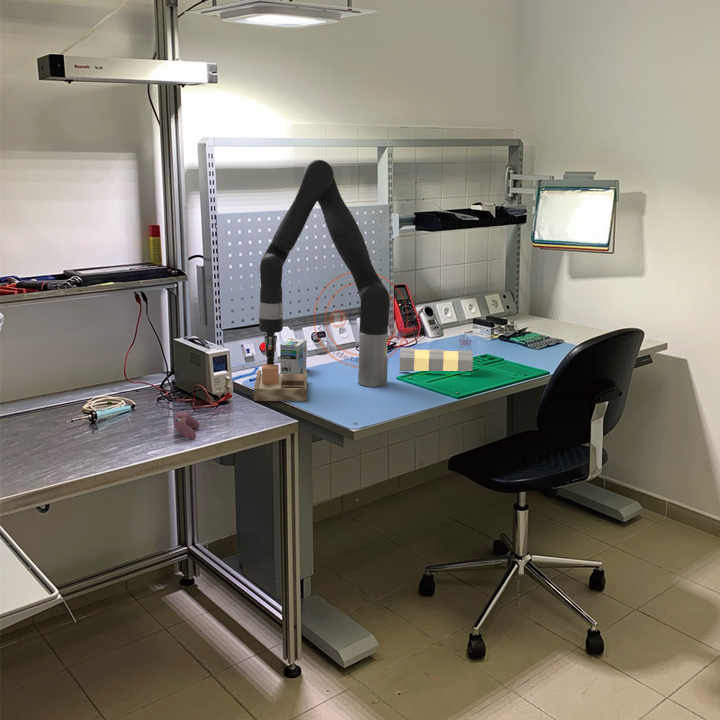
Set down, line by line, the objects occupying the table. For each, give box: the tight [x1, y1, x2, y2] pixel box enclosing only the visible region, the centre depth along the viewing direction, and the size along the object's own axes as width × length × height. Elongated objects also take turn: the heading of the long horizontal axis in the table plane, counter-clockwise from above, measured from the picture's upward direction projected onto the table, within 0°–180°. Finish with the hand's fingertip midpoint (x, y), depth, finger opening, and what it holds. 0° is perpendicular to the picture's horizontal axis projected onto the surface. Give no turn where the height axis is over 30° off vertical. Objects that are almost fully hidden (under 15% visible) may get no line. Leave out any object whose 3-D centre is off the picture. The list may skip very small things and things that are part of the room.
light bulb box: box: [279, 338, 308, 374], centre depth 277 cm, size 11×7×11 cm, turn 168°
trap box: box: [253, 369, 308, 402], centre depth 255 cm, size 16×22×4 cm
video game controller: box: [173, 410, 200, 440], centre depth 213 cm, size 10×5×7 cm, turn 5°
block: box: [261, 364, 280, 384], centre depth 255 cm, size 5×5×5 cm
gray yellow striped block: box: [399, 334, 474, 372], centre depth 282 cm, size 25×10×13 cm, turn 85°
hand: (270, 368), depth 263 cm, fingers closed
